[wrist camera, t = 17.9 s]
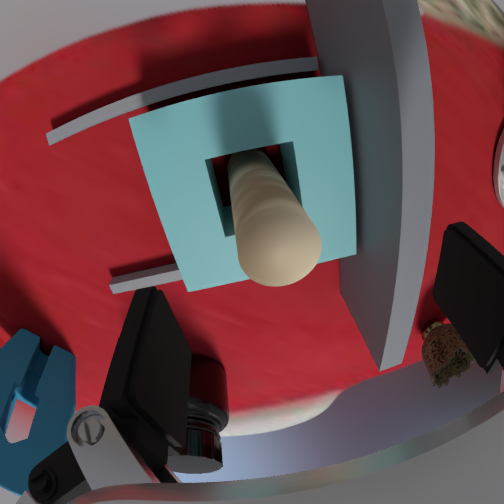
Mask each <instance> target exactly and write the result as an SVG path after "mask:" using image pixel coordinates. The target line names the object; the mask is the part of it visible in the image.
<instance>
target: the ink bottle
mask: <svg viewBox="0 0 504 504" xmlns="http://www.w3.org/2000/svg"><path fill="white" fill-rule="evenodd" d="M228 421H229V408H228V394H227V379H226V374H225V371H224V370H223V368H222V367H221V366H220V365H219V364H218V363H217V362H215V361H213V360H211V359H209V358H206V357H202V356H197V355H192V358H191V370H190V383H189V397H188V413H187V431H186V444H185V446H183V447H181V454H180V455H168V461H167V465H168V467H169V468H170V469H171V470H172V471H174V472H179V473H188V474H195V473H196V474H202V473H209V472H213V471H217V470H219V469H220V468H221V467H223V464H222V463H223V462H222V448H221V441H220V435H219V432H221V431H222V430H223V429H224V428H225V427H226V426H227V424H228Z"/></svg>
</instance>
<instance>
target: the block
mask: <svg viewBox="0 0 504 504" xmlns="http://www.w3.org/2000/svg"><path fill="white" fill-rule="evenodd" d="M39 347H40V337H39V336H37V335H35V334H33V333H31V332H30V331H28V330H26V329H23V328H21V329H20V330H19V331H18V332H17V333H16V334H15V335H14V336H13V337H12V338H11V339H10V340H9V341H8V342H7V343H6V344H5V345H4V346H3V347H2V348H1V349H0V486H1V487H3V488H5V489H7V490H8V491H10V492H12V493H14V494H17V495H19V496H22V494H23V493H24V491H27V492H30V491H29V488H28V478H29V474H30V472H31V470H32V469H33V468H34V467H35V466H36V465H37V464H38V463H40V462H41V461H42V460H43V459H45V458H46V457H47V456H49V455H50V454H51V453H53V452H54V451H55V450H57V449H58V448H59V447H60V446H62V445H63V444H64V443H66V442H67V441H68V438H67V426H68V423H69V420H70V419H71V417H72V416H73V415H74V413H75V409H76V358H75V356H74V355H73V354H72V353H70V352H68V351H66V350H64V349H62V348H60V347H58V346H56V345H54V346H53V348H52V351H51V353H50V356H47V355H45V354H43V353H42V352H41V351H40V348H39ZM17 399H19V400H20V401H22V402H24V403H26V404H28V405H30V406H32V407H34V408H36V412H35V416H34V419H33V422H32V426H31V429H30V433H29V436H28V439H25V440H22V441H19V442H16V443H12V444H11V443H9V442H8V441H7V439H6V437H5V434H6V430H7V427H8V424H9V421H10V417H11V414H12V412H13V409H14V406H15V403H16V400H17Z"/></svg>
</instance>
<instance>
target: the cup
mask: <svg viewBox="0 0 504 504" xmlns="http://www.w3.org/2000/svg"><path fill="white" fill-rule="evenodd" d="M422 339H423V340H424V342H423V345H422V357H423V360H424V363H425V366H426V368H427V371H428V373H429V375H430V378H431V381H432V383H433V386H435V385H436V386H437V387H438V388H440V387H441V386H442V385H443V384H444V385H446V386H448V384H449V379H448V378H451V377H452V376H453V375H455V376H456V378H459V377H460V376H461V373H462V372H466V371H468V370H469V369H470V362H475V361H476V360H475V358H474V357H473V355H472V354H471V352H470V350H469V349H468V347H467V346H466V344H465V343H464V341H463V340H462V338H461V337H460V335H459V334H458V332H457V331H456V329H455V328H454V327H453V325H452V324H444V323H443V321H441V320H439V319H435V320H432V321H430V322H429V323H428V324H427V325H426V326H425V327H424V328H423V330H422Z"/></svg>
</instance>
